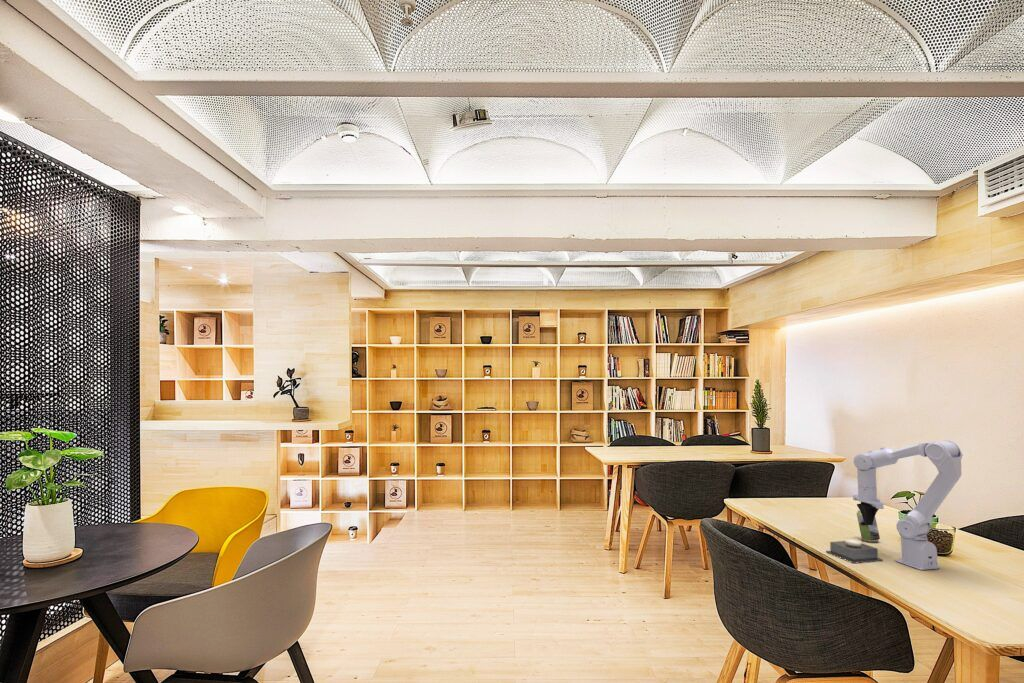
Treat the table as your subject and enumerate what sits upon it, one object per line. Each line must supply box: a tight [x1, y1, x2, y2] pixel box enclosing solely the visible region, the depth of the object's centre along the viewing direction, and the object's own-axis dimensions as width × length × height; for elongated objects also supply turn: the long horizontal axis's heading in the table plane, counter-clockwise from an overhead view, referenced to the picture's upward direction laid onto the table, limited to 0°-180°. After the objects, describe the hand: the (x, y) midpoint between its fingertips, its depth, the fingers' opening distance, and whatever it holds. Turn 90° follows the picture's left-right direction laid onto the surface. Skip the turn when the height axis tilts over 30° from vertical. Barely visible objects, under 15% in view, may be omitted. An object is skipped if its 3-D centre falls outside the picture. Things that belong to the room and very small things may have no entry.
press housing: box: [825, 540, 884, 564], centre depth 192 cm, size 12×12×4 cm
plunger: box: [844, 537, 863, 547], centre depth 192 cm, size 5×5×5 cm
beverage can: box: [856, 509, 881, 543], centre depth 212 cm, size 6×7×12 cm
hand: (868, 524), depth 198 cm, fingers closed
